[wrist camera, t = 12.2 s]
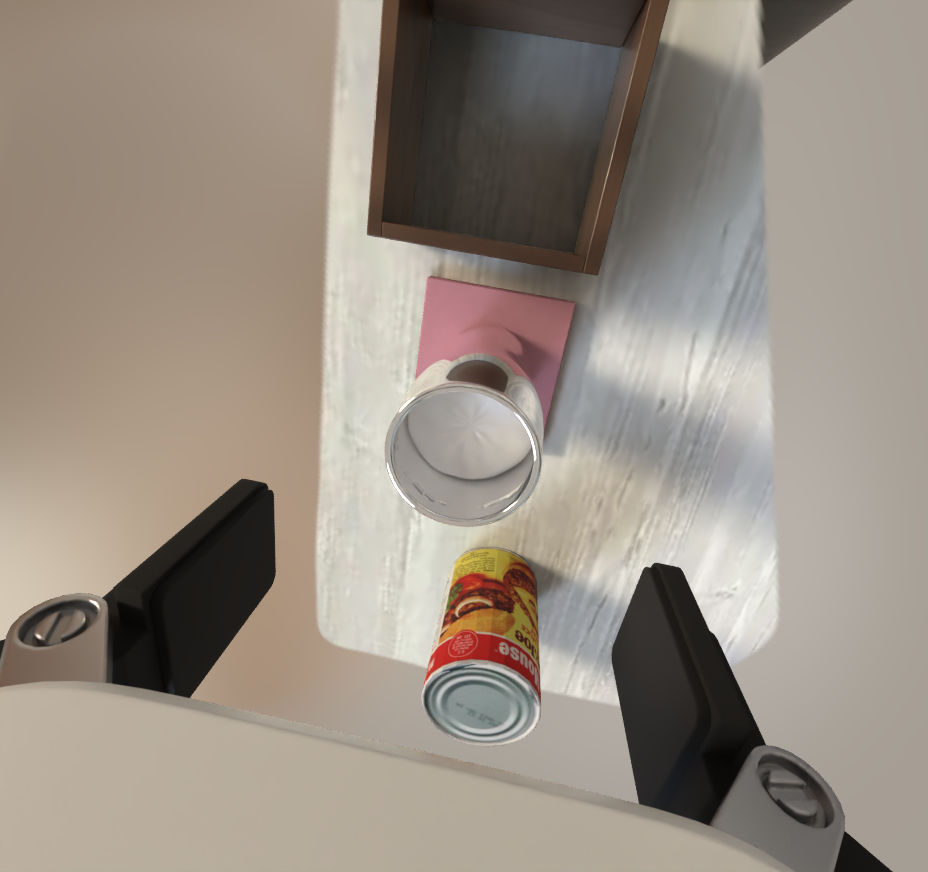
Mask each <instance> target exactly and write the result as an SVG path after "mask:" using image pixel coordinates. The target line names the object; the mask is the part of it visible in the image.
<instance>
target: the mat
mask: <svg viewBox="0 0 928 872" xmlns="http://www.w3.org/2000/svg"><path fill="white" fill-rule="evenodd" d="M575 305H576V304H575V302H573V301H568V300H562V299H557V298H551V297H545V296H540V295H534V294H529V293H523V292H517V291H512V290H506V289H501V288H495V287H489V286H484V285H478V284H473V283H467V282H461V281H456V280H450V279H445V278H439V277H433V276H430V277H428V278H427V286H426V294H425V302H424V311H423V319H422V327H421V336H420V344H419V352H418V361H417V369H416V377H415V380H416V379H417V378H418V377H419V376H420V375H421V374H422V372H423V371H424V370H425V369H426V368H427V367H428V366H429V365H431V364H432V363H433V362H434V361H436V360H437V359H439V358H441V357H442V356H444V355H446V354H447V353H448V350H449V348H450V347H451V345H452V343H453V342H454V341H455V340H456V339H457V338H458V337H459V336H460V335H461V334H463V333H464V332H466V331H468V330H470V329H472V328H475V327H480V326H495V327H499V328H503V329H505V330H507V331H509V332H511V333H512V334H514V335H515V336H516V337H517V338H518V339H519V340H520V341H521V342H522V343H523V344H524V346H525V348H526V350H527V352H528V354H529V357H530V362H531V376H530V378H531V380H532V382H533V384H534V385H535V387H536V390H537V392H538V395H539V398H540V403H541V407H542V412H543V427H544V430H545V426H546V422H547V418H548V414H549V410H550V406H551V402H552V398H553V394H554V390H555V386H556V382H557V378H558V374H559V370H560V366H561V362H562V358H563V354H564V350H565V346H566V341H567V337H568V333H569V329H570V325H571V321H572V317H573V313H574V309H575Z"/></svg>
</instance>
